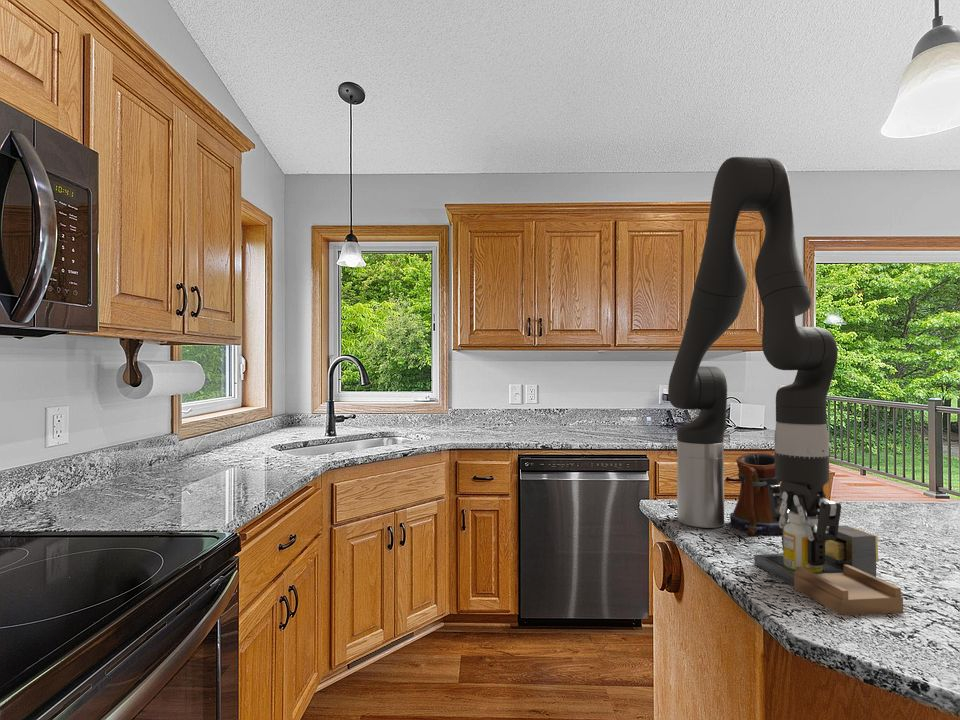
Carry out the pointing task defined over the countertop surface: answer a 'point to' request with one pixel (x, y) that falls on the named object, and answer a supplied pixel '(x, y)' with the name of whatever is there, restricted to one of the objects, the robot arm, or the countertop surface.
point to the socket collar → (773, 566)
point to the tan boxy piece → (841, 548)
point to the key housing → (857, 549)
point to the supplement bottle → (797, 545)
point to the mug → (755, 495)
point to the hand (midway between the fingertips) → (802, 557)
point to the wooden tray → (849, 591)
